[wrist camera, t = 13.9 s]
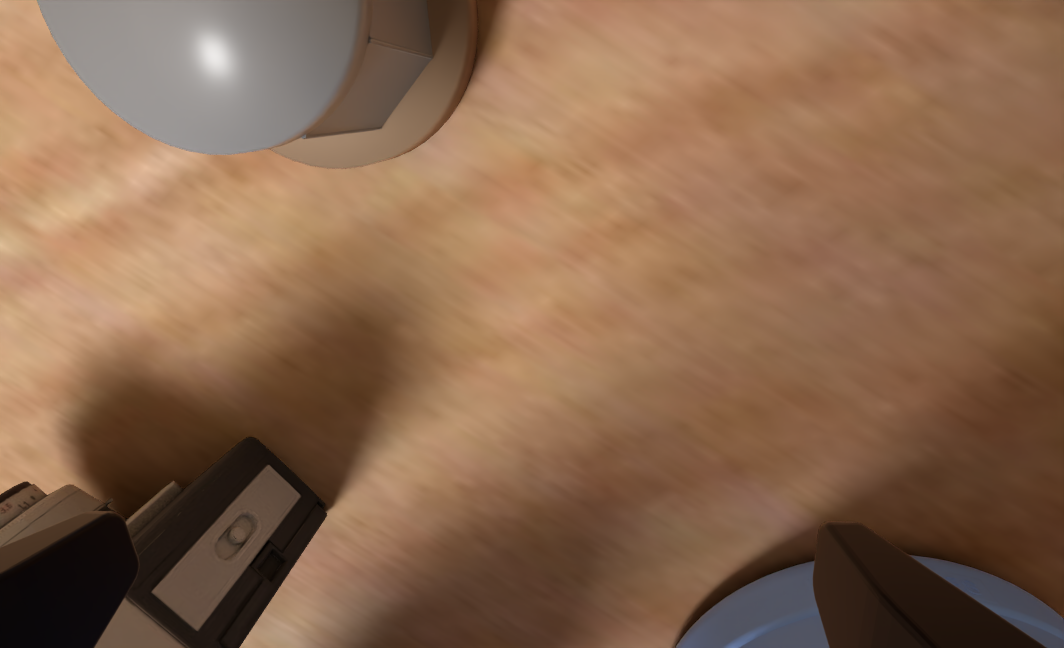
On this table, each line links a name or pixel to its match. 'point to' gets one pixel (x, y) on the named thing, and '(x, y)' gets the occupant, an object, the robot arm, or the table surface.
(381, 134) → the stub
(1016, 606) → the water jug
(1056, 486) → the table surface
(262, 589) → the camera
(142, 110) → the cap
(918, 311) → the table surface
